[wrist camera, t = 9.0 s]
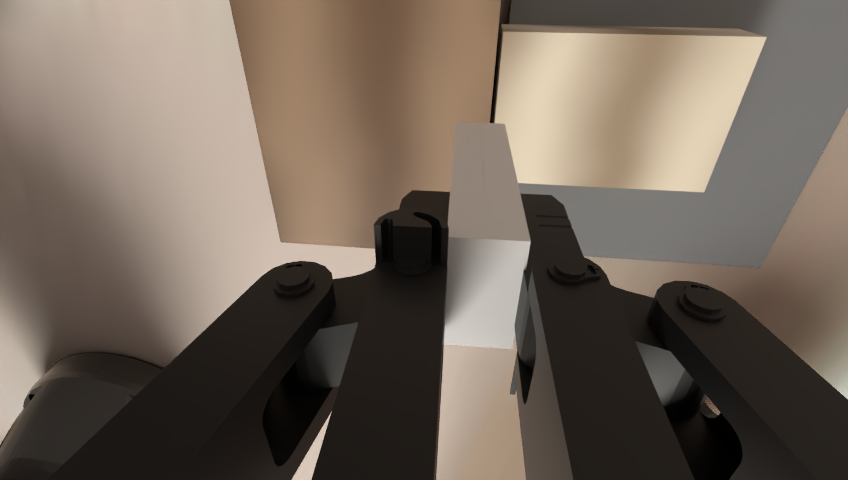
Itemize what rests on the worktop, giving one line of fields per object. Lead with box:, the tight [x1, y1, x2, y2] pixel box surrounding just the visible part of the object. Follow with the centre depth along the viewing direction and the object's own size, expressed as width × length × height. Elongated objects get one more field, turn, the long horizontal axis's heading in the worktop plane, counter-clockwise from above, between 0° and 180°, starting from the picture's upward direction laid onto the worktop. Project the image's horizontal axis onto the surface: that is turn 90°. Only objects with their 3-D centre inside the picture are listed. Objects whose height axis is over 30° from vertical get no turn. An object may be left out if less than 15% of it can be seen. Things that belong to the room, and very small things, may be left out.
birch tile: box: [492, 24, 767, 192], centre depth 18 cm, size 9×6×2 cm, turn 90°
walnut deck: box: [229, 0, 501, 248], centre depth 19 cm, size 10×14×2 cm
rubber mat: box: [508, 0, 848, 268], centre depth 19 cm, size 14×16×1 cm
